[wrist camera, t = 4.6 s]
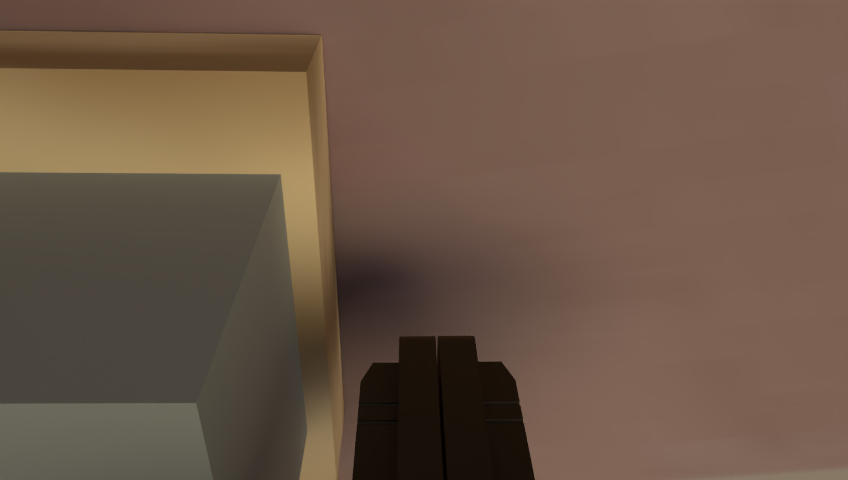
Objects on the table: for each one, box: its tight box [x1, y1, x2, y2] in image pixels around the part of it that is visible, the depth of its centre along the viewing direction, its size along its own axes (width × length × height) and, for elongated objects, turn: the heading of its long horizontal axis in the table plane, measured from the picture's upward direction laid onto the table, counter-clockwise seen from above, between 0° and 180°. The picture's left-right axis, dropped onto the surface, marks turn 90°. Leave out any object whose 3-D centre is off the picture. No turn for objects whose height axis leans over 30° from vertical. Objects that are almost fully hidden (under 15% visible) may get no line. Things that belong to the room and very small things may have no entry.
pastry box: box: [0, 172, 307, 480], centre depth 12 cm, size 7×8×6 cm
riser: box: [0, 30, 344, 480], centre depth 16 cm, size 11×11×2 cm
